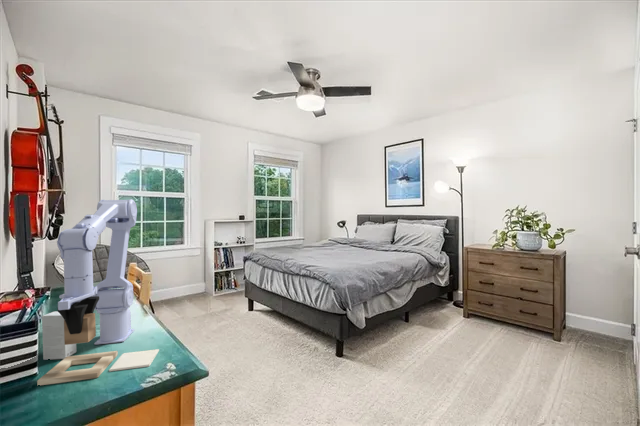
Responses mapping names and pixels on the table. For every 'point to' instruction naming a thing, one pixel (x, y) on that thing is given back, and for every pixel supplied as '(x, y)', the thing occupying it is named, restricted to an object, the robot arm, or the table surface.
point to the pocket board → (61, 375)
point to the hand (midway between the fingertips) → (80, 329)
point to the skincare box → (55, 337)
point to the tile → (134, 360)
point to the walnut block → (86, 333)
